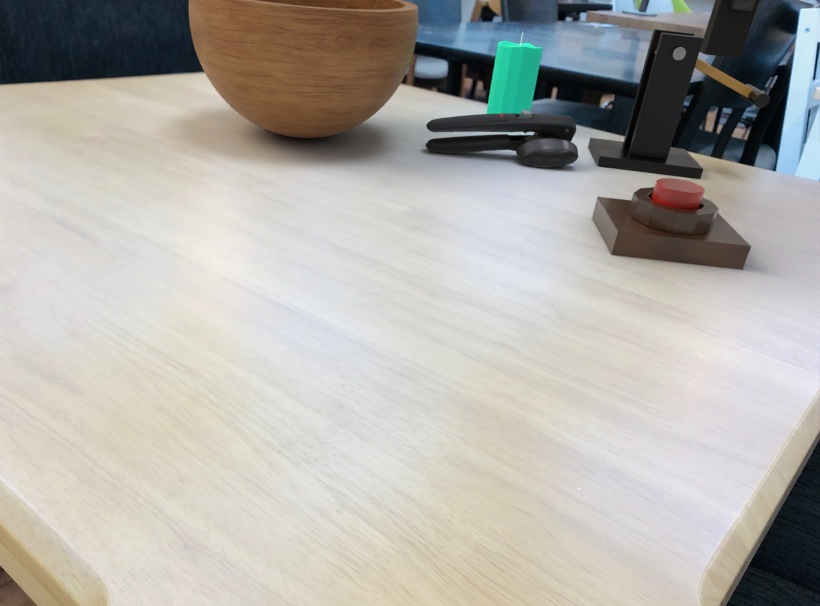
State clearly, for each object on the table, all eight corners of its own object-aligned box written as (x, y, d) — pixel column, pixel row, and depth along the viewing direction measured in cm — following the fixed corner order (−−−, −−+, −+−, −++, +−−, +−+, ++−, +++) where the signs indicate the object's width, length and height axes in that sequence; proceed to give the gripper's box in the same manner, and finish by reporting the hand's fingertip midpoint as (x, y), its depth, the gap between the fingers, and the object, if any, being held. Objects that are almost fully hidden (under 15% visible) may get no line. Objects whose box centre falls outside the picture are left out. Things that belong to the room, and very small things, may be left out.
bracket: (682, 158, 91) (720, 34, 83) (700, 178, 83) (745, 44, 76) (587, 146, 92) (617, 23, 84) (597, 166, 84) (631, 31, 77)
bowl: (421, 127, 93) (437, 1, 85) (376, 180, 72) (392, 19, 64) (244, 100, 97) (244, -22, 90) (152, 143, 76) (142, -12, 68)
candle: (531, 132, 96) (550, 37, 90) (487, 128, 96) (503, 32, 90) (523, 121, 101) (541, 31, 95) (482, 117, 101) (497, 26, 95)
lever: (744, 102, 85) (757, 84, 84) (760, 113, 80) (775, 94, 79) (650, 50, 84) (663, 31, 83) (661, 58, 79) (675, 37, 78)
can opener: (565, 156, 86) (576, 109, 84) (578, 173, 80) (590, 123, 78) (421, 142, 86) (427, 94, 83) (423, 158, 80) (430, 107, 77)
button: (690, 199, 63) (696, 180, 62) (704, 215, 60) (711, 195, 59) (645, 194, 63) (651, 175, 63) (657, 209, 60) (663, 189, 59)
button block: (707, 231, 67) (721, 191, 65) (742, 270, 59) (759, 226, 57) (591, 218, 68) (602, 177, 66) (611, 255, 60) (623, 210, 58)
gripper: (753, -322, 50) (653, 39, 61) (831, -398, 38) (691, 61, 50) (864, -313, 49) (742, 49, 61) (977, -388, 38) (800, 74, 50)
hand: (719, 54), depth 55 cm, fingers closed
